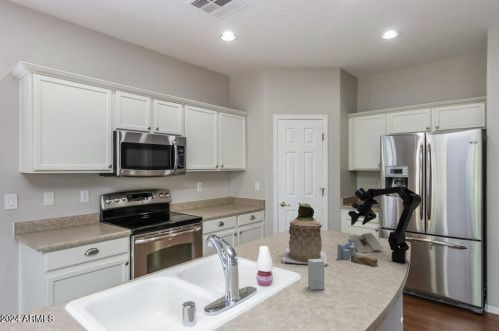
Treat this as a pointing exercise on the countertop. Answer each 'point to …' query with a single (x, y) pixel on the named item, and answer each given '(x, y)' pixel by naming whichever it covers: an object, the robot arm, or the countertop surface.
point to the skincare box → (316, 274)
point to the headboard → (346, 250)
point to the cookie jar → (304, 238)
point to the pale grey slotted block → (366, 243)
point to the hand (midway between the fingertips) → (357, 224)
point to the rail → (364, 260)
